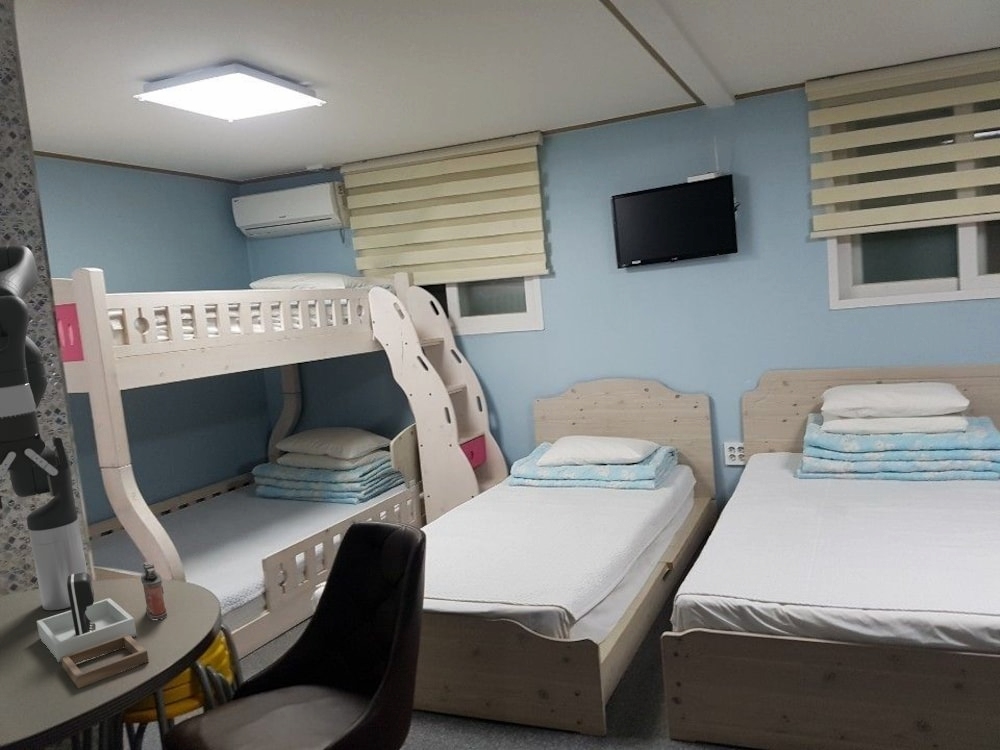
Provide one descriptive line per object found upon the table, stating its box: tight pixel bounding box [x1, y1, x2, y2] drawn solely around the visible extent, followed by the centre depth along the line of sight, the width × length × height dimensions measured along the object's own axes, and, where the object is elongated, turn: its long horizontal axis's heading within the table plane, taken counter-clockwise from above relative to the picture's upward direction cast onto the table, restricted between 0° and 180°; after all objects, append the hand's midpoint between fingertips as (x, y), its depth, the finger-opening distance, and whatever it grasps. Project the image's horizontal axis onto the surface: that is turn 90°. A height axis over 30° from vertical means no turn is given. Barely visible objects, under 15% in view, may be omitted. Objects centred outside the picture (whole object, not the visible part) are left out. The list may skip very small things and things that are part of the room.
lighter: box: [140, 561, 168, 620], centre depth 158 cm, size 8×3×10 cm, turn 34°
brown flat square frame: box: [61, 634, 149, 689], centre depth 137 cm, size 11×11×2 cm
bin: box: [36, 597, 138, 662], centre depth 150 cm, size 16×13×4 cm
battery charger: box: [67, 572, 96, 636], centre depth 150 cm, size 7×4×11 cm, turn 27°
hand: (27, 502), depth 142 cm, fingers open, 8 cm apart
